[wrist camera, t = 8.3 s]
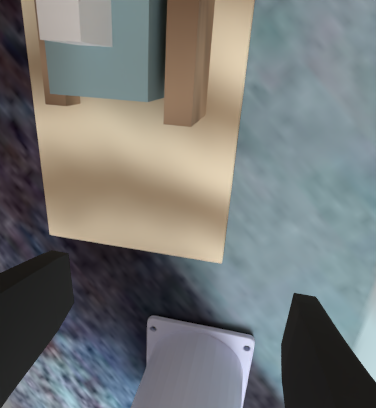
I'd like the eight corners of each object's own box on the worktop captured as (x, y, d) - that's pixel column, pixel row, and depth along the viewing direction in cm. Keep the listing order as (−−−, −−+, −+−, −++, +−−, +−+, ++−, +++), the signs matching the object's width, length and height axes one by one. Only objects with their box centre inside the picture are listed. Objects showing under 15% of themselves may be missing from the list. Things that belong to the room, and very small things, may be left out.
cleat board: (223, 255, 21) (213, 305, 17) (57, 228, 23) (9, 266, 19) (274, -156, 13) (282, -273, 9) (16, -144, 15) (-86, -236, 11)
